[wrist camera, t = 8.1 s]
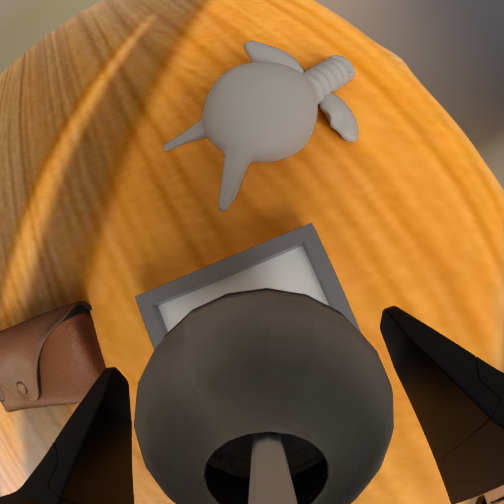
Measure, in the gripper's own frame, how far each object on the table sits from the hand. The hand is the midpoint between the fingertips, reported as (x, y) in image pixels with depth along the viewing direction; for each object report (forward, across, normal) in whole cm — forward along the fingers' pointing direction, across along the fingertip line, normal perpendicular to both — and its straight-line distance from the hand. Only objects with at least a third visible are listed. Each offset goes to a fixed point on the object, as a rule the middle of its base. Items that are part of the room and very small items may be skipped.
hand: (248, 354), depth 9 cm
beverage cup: (+7, 0, +9) cm, 11 cm away
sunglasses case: (+8, +21, +9) cm, 24 cm away
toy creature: (+19, -6, -2) cm, 20 cm away
